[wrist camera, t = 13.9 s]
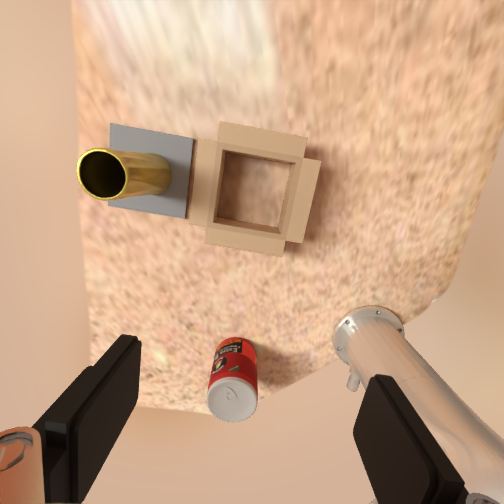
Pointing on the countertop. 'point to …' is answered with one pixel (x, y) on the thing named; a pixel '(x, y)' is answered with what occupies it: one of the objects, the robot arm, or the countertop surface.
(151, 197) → the mat
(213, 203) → the carton
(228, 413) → the canned food
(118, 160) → the vase
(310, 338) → the countertop surface
